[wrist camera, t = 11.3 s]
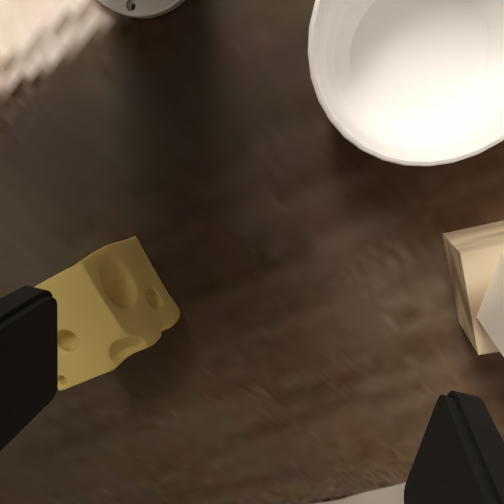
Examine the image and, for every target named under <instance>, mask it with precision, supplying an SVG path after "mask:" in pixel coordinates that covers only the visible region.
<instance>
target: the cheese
mask: <svg viewBox="0 0 504 504" xmlns="http://www.w3.org/2000/svg"><path fill="white" fill-rule="evenodd" d="M35 287H36V288H40V289H44V290H48V291H50V292H51V293H52V295H53V298H55V299H56V301H57V339H58V386H57V388H58V389H59V390H60V391H61V390H64V389H67V388H70V387H72V386H74V385H77V384H80V383H82V382H85V381H87V380H89V379H92V378H94V377H97V376H99V375H102V374H105V373H107V372H110V371H112V370H114V369H115V368H117V367H118V366H119V365H120V364H121V363H122V362H123V361H124V360H125V359H126V358H127V357H129V356H130V355H132V354H134V353H136V352H138V351H140V350H143V349H146V348H148V347H150V346H152V345H153V344H155V343H156V342H157V341H158V340H159V338H160V337H161V332H162V331H163V330H166V329H169V328H170V327H172V326H173V325H174V324H175V323H176V322H177V321H178V319H179V318H180V313H181V312H180V310H179V308H178V306H177V305H176V303H175V302H174V300H173V299H172V298H171V296H170V295H169V293H168V292H167V290H166V288H165V287H164V285H163V283H162V282H161V280H160V278H159V276H158V275H157V273H156V271H155V270H154V268H153V266H152V264H151V262H150V261H149V259H148V257H147V255H146V253H145V251H144V250H143V248H142V246H141V244H140V242H139V240H138V239H137V237H135V236H134V237H131V238H129V239H126V240H122V241H118V242H115V243H112V244H109V245H106V246H104V247H102V248H100V249H98V250H97V251H95V252H93V253H91V254H90V255H88V256H87V257H85V258H84V259H82V260H81V261H80V262H78V263H77V264H75V265H74V266H72V267H70V268H68V269H66V270H64V271H62V272H61V273H59V274H57V275H55V276H53V277H51V278H49V279H47V280H46V281H44V282H42V283H40V284H39V285H37V286H35Z"/></svg>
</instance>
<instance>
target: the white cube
mask: <svg viewBox="0 0 504 504" xmlns="http://www.w3.org/2000/svg"><path fill="white" fill-rule="evenodd" d="M477 319H478V320H479V322H480V323H481V325H482V326H483V328H484V329H485V330H486V332H487V333H488V335H489V336H490V338H491V339H492V341H493V342H494V344H495V345H496V346H497V348H498V349H499V351H500V352H501V354H502V355H503V357H504V254H502V253H500V255H499V258H498V261H497V263H496V266H495V269H494V271H493V274H492V277H491V279H490V282H489V285H488V288H487V290H486V293H485V296H484V298H483V301H482V304H481V306H480V309H479V312H478V314H477Z"/></svg>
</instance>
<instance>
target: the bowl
mask: <svg viewBox="0 0 504 504" xmlns="http://www.w3.org/2000/svg"><path fill="white" fill-rule="evenodd" d="M308 60H309V68H310V76H311V80H312V83H313V86H314V89H315V92H316V95H317V98H318V101H319V103H320V105H321V106H322V108H323V110H324V112H325V113H326V115H327V117H328V119H329V121H330V122H331V123H332V124H333V125H334V126H335V127H336V129H337V130H338V131H339V132H340V133H341V134H342V135H343V136H344V138H346V139H347V140H348V141H350V142H351V143H352V144H354V145H355V146H356V147H358V148H359V149H360V150H362V151H364V152H366V153H368V154H370V155H372V156H375V157H377V158H379V159H381V160H384V161H388V162H392V163H396V164H401V165H405V166H435V165H441V164H448V163H454V162H457V161H460V160H463V159H466V158H469V157H472V156H475V155H478V154H480V153H481V152H483V151H485V150H487V149H489V148H491V147H493V146H494V145H496V144H498V143H500V142H502V141H503V140H504V0H315V4H314V8H313V12H312V17H311V21H310V25H309V37H308Z"/></svg>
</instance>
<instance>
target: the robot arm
mask: <svg viewBox="0 0 504 504" xmlns="http://www.w3.org/2000/svg"><path fill="white" fill-rule="evenodd" d="M98 1H99V2H100V3H101V4H103V5H104V6H106V7H108V8H109V9H111V10H113V11H115V12H117V13H119V14H122V15H124V16H127V17H132V18H137V19H145V18H154V17H158V16H162V15H164V14H166V13H168V12H170V11H172V10H174V9H176V8H177V7H178V6H179V5H181V4H182V3H183V2H184V1H185V0H98ZM134 5H135V9H134V10H133V6H134ZM57 386H58V339H57V301H56V299H55V298H53V295H52V293H51V292H50V291H48V290H44V289H40V288H36V287H32V286H24V287H22V288H20V289H18V290H16V291H14V292H12V293H10V294H9V295H7V296H5V297H3V298H1V299H0V451H1V450H2V449H3V448H4V447H5V446H6V445H7V444H8V443H9V442H10V441H11V440H12V439H13V438H14V437H15V436H16V435H17V434H18V433H19V432H20V431H21V430H22V429H23V428H24V427H25V426H26V425H27V424H28V423H29V422H30V421H31V420H32V419H33V418H34V417H35V416H36V415H37V414H38V413H39V412H40V411H41V410H42V409H43V408H44V407H45V406H46V405H47V404H48V403H49V402H50V401H51V400H52V399H53V397H54V396H55V394H56V391H57ZM404 504H504V442H503V440H502V438H501V436H500V434H499V432H498V430H497V428H496V426H495V424H494V422H493V420H492V418H491V416H490V414H489V412H488V410H487V408H486V406H485V404H484V402H483V401H482V399H481V398H479V397H477V396H473V395H468V394H464V393H460V392H456V391H450V392H449V393H448V395H447V396H445V395H440V396H439V398H438V400H437V402H436V405H435V408H434V410H433V413H432V416H431V418H430V421H429V424H428V426H427V429H426V431H425V434H424V437H423V439H422V442H421V445H420V447H419V450H418V453H417V455H416V458H415V461H414V463H413V466H412V468H411V471H410V474H409V476H408V479H407V482H406V485H405V490H404Z"/></svg>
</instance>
